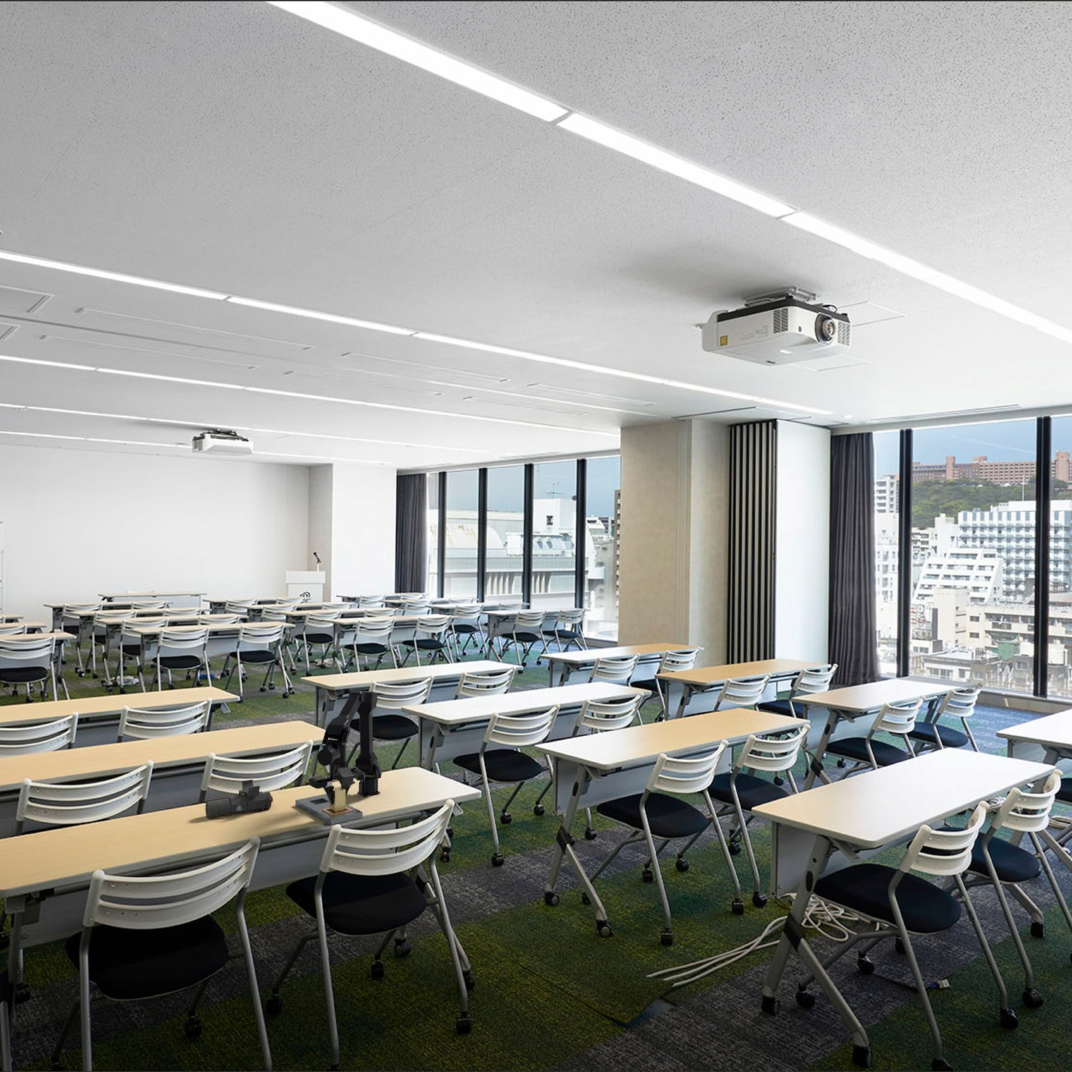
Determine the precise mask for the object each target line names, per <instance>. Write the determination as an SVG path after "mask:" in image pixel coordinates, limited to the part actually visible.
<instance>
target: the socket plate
mask: <svg viewBox="0 0 1072 1072" xmlns="http://www.w3.org/2000/svg"><path fill="white" fill-rule="evenodd" d="M294 805H295V807H297V808H299V809H300V810H303V811H304V812H307V813H308V814H310V815H312V816H314V817H316V818H318V819H319V820H321V821H323V822H324V823H326V824H328V825H330V826H332V825H333V826H334V825H336V824H335V823H338V824H341V823H346V822H350V821H354V820H359V819H363V818H364V817H363V814H364V812H363V811H361V810H359V809H357V808H356V807H353V806H351V805H349V804H347V803H345V811H343V812H339V813H334V814H333V813H332V812H330V801H329V799H328V796H327V794H326V793H323V794H318V795H314V796H309V797H304V798H298V799H295V804H294Z"/></svg>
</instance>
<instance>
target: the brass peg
mask: <svg viewBox="0 0 1072 1072" xmlns="http://www.w3.org/2000/svg"><path fill="white" fill-rule="evenodd" d="M345 792H346V789H344V788H342V787H341V786H335V787H334V789H333V805H332V804H331V803H330V812H332V813H333V814H334V813H339V812H343V811H345V804H346V799H345Z"/></svg>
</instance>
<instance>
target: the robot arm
mask: <svg viewBox="0 0 1072 1072" xmlns="http://www.w3.org/2000/svg"><path fill="white" fill-rule="evenodd" d="M378 699H379V697H378V695H377V693H375V691H366V690H365V691H364V690H356V691H355V690H353V691H350V692H349V694H348V698H347V699H346V701H345V703H344V705H343V707H342V708H341V710H340V713H339V714H338V715H337V717H335V718H332V719H331V721H330V722H329V723H328V724H327V726H326V727H325V731H324V735H323V738H322V741H321V745H322V749H320V750H319V751H318V753H317V755H316V759H317V762H318V763H319V765H321V766H323V767H327V766H328V769H329V772H327V776H328V777H325V776H322V775H318V776H317V775H316V776H313V777H311V778H310V780H309V786H310V787H312V788H314V789H318V790H319V789H323V790H324V792H325V794H327V796H328V799H329V801H330V803H331V804H332V805H333V789H334V788H335V786H334V785H333V783H336V782H338V783H339V784H340V787H342V788H344V789H346V792H345V800H346V798H347V796H348V793H349V791H350V788H351V787H352V786H353V785H355V784H356V781H357V782H358V781H359V782H358V791H357V794H359V795H361V796H363V797H369V796H370V797H371V796H375V795H379V794H381V792H380V791H379V779H381V778H382V776H383V775H382V774H383V770H382V767H381V766H380V764H379V763H378V762H379V761H378V760H379V759H378V756H377V755H376V754H375V752H374V740H373V739H374V737H373V735H374V733H373V732H374V731H373V713H374V712H375V710H376V708H377V703H378ZM356 713H357V714H358V716H359V754H358V756H357V757H356V758H355V761H354V762H355V763H354V767H349V762H348V760H347V744H348V742H349V740H348V739H349V738H350V734H351V730H352V728H351V726H350V725H351V722H352V720H353V719H354V716H355V715H356ZM354 779H355V780H356V781H355V780H354Z"/></svg>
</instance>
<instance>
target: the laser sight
mask: <svg viewBox="0 0 1072 1072" xmlns="http://www.w3.org/2000/svg"><path fill="white" fill-rule="evenodd" d="M241 786H242V788H241V789H240V790H238V794H237V795H230V796H228V798H222V799H215V800H209V801H208V800H207V801H206V802H205V806H204V807H205V808H204V809H205V816H206V819H211V818H216V817H222V816H227V815H228V816H235V815H241V814H242V815H243V814H247V813H254V812H259V811H264V810H265V809H271V808H272V803H273V802H274V799H273V798H274V797H273V795H272V794H271V792H270V791H264V792H263V791H260V788H261V785H254V780H253V779H247V780H246V779H245V780H242V781H241Z"/></svg>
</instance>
